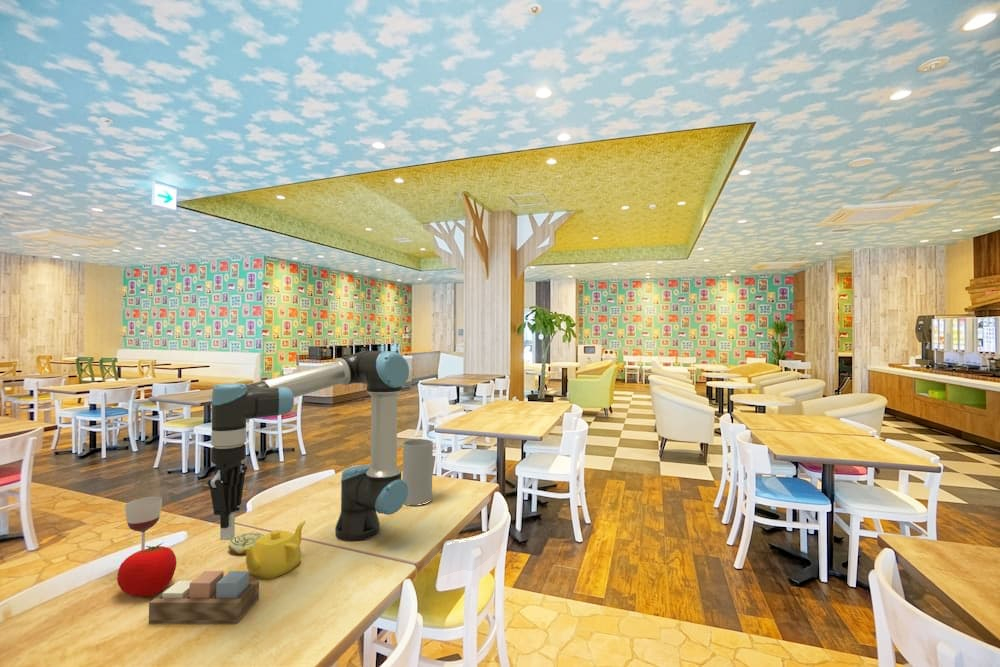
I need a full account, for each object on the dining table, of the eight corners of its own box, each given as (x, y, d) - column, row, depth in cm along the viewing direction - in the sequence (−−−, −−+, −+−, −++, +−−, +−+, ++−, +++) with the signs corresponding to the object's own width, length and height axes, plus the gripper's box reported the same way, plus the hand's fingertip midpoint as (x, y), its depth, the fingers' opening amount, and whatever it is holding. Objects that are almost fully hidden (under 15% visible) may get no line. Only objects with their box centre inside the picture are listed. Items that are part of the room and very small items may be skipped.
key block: (258, 599, 118) (259, 580, 118) (237, 623, 108) (237, 602, 108) (177, 599, 118) (178, 580, 118) (148, 623, 108) (149, 602, 108)
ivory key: (197, 600, 116) (197, 580, 116) (181, 613, 110) (182, 593, 110) (178, 600, 116) (178, 580, 116) (161, 613, 110) (162, 593, 110)
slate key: (248, 590, 116) (249, 571, 116) (235, 603, 110) (236, 583, 110) (229, 590, 116) (230, 571, 116) (216, 603, 110) (216, 583, 110)
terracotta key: (223, 590, 116) (223, 571, 116) (209, 603, 110) (209, 583, 110) (204, 590, 116) (204, 571, 116) (189, 603, 110) (189, 583, 110)
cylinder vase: (429, 506, 185) (430, 446, 186) (398, 506, 185) (399, 445, 186) (434, 496, 198) (434, 439, 198) (405, 495, 198) (406, 438, 198)
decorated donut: (238, 560, 139) (238, 547, 139) (222, 550, 145) (222, 538, 145) (271, 547, 148) (271, 536, 148) (255, 539, 154) (255, 527, 154)
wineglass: (167, 565, 135) (168, 498, 135) (135, 579, 127) (137, 508, 127) (148, 560, 138) (150, 495, 138) (116, 574, 129) (118, 504, 130)
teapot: (262, 594, 121) (263, 553, 121) (225, 580, 127) (225, 542, 127) (325, 558, 141) (326, 523, 141) (290, 548, 147) (291, 515, 147)
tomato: (131, 611, 112) (132, 564, 113) (109, 593, 120) (110, 550, 120) (186, 588, 123) (187, 546, 123) (163, 573, 130) (164, 534, 130)
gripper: (229, 439, 120) (228, 527, 120) (196, 451, 107) (195, 550, 107) (257, 439, 120) (256, 528, 120) (228, 451, 107) (226, 551, 107)
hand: (227, 538), depth 113 cm, fingers closed
